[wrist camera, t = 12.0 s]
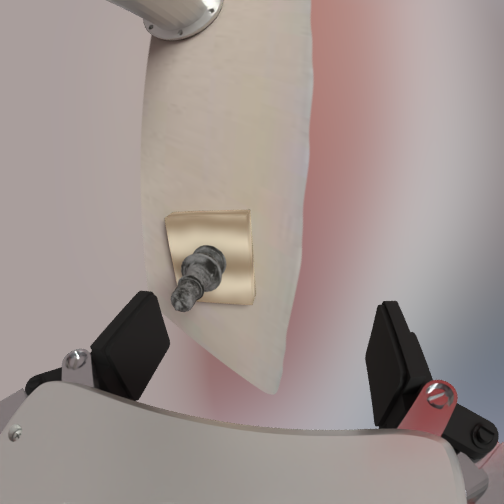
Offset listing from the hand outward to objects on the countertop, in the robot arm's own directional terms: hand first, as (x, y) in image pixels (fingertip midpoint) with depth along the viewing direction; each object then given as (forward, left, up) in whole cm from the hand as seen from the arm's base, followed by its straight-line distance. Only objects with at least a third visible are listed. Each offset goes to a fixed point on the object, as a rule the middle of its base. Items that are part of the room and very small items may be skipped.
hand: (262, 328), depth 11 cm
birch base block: (+10, -12, -28) cm, 32 cm away
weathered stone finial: (+10, -12, -26) cm, 30 cm away
